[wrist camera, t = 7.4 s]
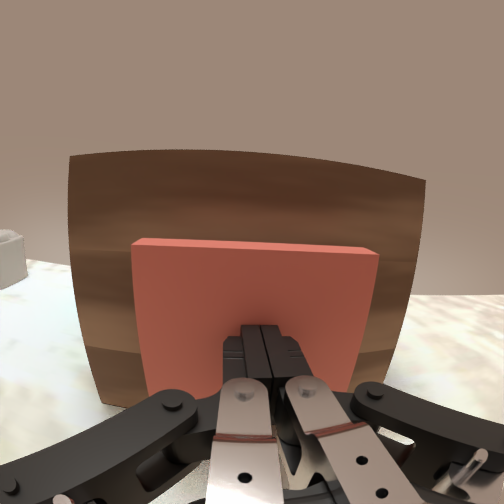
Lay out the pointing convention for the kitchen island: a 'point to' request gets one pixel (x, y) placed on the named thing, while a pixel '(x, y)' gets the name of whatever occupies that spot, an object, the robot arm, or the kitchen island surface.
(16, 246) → the lumpy-topped squat cylinder
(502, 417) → the kitchen island surface
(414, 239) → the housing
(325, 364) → the coral square plate
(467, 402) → the kitchen island surface
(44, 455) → the robot arm
